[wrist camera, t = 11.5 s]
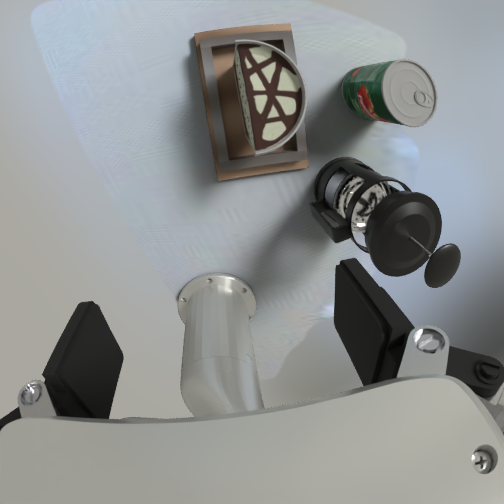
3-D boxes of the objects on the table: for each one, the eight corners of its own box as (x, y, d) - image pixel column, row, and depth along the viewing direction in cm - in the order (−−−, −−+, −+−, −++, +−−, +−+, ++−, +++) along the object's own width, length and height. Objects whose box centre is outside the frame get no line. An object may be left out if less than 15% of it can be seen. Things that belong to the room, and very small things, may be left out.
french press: (369, 148, 38) (489, 198, 18) (380, 205, 42) (480, 286, 22) (294, 172, 39) (377, 248, 18) (312, 231, 43) (384, 338, 23)
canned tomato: (336, 110, 35) (376, 114, 25) (346, 59, 32) (387, 47, 22) (384, 126, 36) (431, 136, 27) (393, 77, 33) (441, 75, 23)
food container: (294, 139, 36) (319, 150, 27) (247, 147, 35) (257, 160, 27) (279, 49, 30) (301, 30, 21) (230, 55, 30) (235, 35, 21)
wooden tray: (306, 166, 38) (313, 170, 36) (218, 179, 38) (218, 184, 35) (288, 25, 29) (294, 19, 26) (194, 35, 29) (193, 29, 26)
